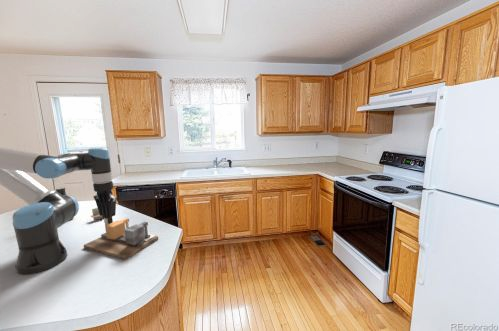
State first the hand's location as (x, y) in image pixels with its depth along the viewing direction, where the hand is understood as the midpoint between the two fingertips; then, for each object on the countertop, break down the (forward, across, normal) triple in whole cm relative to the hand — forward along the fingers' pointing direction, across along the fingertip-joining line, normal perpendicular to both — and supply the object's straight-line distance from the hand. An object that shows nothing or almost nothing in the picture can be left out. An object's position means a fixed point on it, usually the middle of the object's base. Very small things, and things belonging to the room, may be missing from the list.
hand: (109, 229), depth 105 cm
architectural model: (+6, +32, -16) cm, 36 cm away
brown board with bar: (+6, -8, 0) cm, 9 cm away
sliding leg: (+3, -4, -2) cm, 5 cm away
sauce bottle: (+6, +49, -8) cm, 50 cm away
